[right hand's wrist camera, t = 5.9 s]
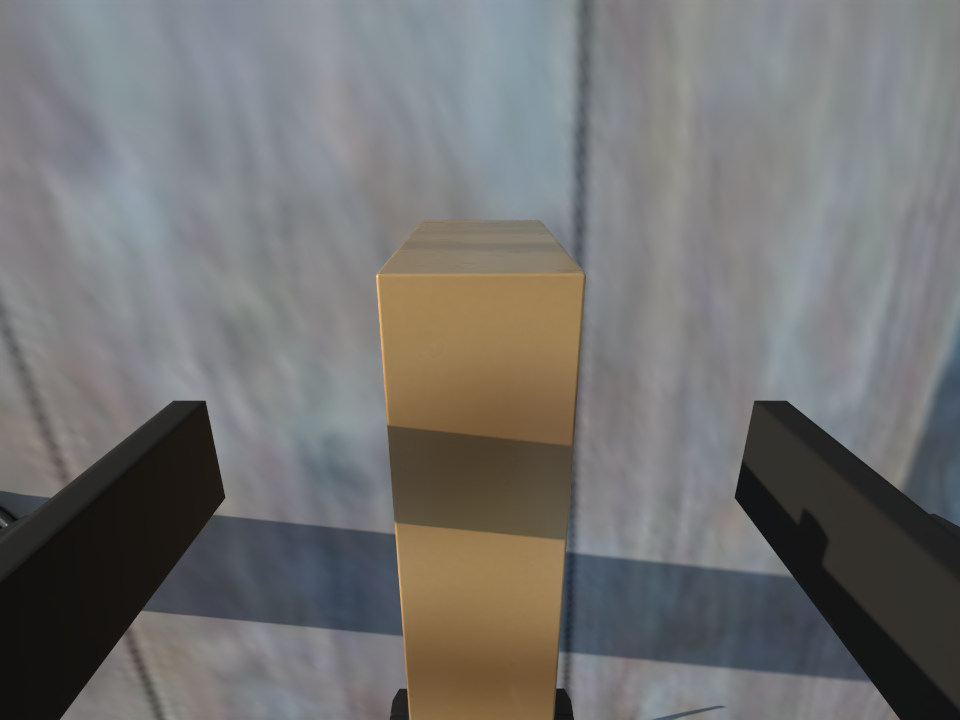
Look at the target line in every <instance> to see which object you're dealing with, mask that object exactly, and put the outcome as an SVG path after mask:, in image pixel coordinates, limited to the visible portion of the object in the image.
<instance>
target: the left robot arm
mask: <svg viewBox="0 0 960 720" xmlns="http://www.w3.org/2000/svg"><path fill="white" fill-rule="evenodd" d="M13 522H15V521H14V520H13V519H12V518H11V517H10V516H9V515H8V514H6V513H5V512H4V511H2V510H1V509H0V529H2V528H4V527H6V526H8V525H9V524H11V523H13ZM390 720H409V706H408V693H407V689H399V691H398V692H397V694H396V696H395V698H394V699H393V702H392V708H391V716H390ZM554 720H574V717H573V711H572V705H571V700H570V698H569V696H568V695H567V693H566V691H565V689H556V698H555V712H554Z"/></svg>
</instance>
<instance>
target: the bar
mask: <svg viewBox="0 0 960 720" xmlns="http://www.w3.org/2000/svg"><path fill="white" fill-rule="evenodd" d="M376 281H377V295H378V308H379V321H380V335H381V348H382V361H383V374H384V388H385V401H386V414H387V428H388V441H389V454H390V467H391V481H392V494H393V507H394V521H395V534H396V547H397V560H398V574H399V587H400V600H401V613H402V627H403V640H404V653H405V667H406V680H407V693H408V706H409V720H554V712H555V698H556V684H557V670H558V656H559V643H560V629H561V615H562V601H563V587H564V573H565V559H566V546H567V532H568V518H569V504H570V490H571V476H572V462H573V449H574V435H575V421H576V407H577V393H578V379H579V365H580V352H581V338H582V324H583V310H584V296H585V282H586V275H585V273H584V272H583V271H582V269H581V268H580V267H579V266H578V265H577V263H576V262H575V261H574V260H573V259H572V258H571V256H570V255H569V254H568V253H567V252H566V250H565V249H564V248H563V247H562V246H561V244H560V243H559V242H558V241H557V240H556V239H555V237H554V236H553V235H552V234H551V233H550V231H549V230H548V229H547V228H546V227H545V226H544V224H543V223H542V222H541V221H540V220H423V221H421V222H420V223H419V225H418V226H417V227H416V228H415V229H414V231H413V232H412V233H411V234H410V235H409V237H408V238H407V239H406V240H405V241H404V242H403V244H402V245H401V246H400V247H399V248H398V250H397V251H396V252H395V253H394V254H393V256H392V257H391V258H390V259H389V260H388V261H387V263H386V264H385V265H384V266H383V267H382V269H381V270H380V271H379V272H378V273H377V275H376Z"/></svg>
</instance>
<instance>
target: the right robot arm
mask: <svg viewBox="0 0 960 720" xmlns="http://www.w3.org/2000/svg"><path fill="white" fill-rule="evenodd" d="M224 499H225V493H224V489H223V484H222V479H221V474H220V469H219V464H218V459H217V454H216V450H215V445H214V440H213V435H212V430H211V425H210V420H209V415H208V411H207V406H206V401H173V402H171V403H170V404H169V405H168V406H166V407H165V408H164V409H162V410H161V411H160V412H159V413H157V414H156V415H155V416H154V417H152V418H151V419H150V420H149V421H147V422H146V423H145V424H144V425H142V426H141V427H140V428H139V429H137V430H136V431H135V432H134V433H132V434H131V435H130V436H129V437H127V438H126V439H125V440H124V441H122V442H121V443H120V444H119V445H117V446H116V447H115V448H114V449H112V450H111V451H110V452H109V453H107V454H106V455H105V456H104V457H102V458H101V459H100V460H99V461H97V462H96V463H95V464H93V465H92V466H91V467H90V468H88V469H87V470H86V471H85V472H83V473H82V474H81V475H80V476H78V477H77V478H76V479H75V480H73V481H72V482H71V483H70V484H68V485H67V486H66V487H65V488H63V489H62V490H61V491H60V492H58V493H57V494H56V495H55V496H53V497H52V498H51V499H50V500H48V501H47V502H46V503H45V504H43V505H42V506H41V507H40V508H38V509H37V510H36V511H35V512H33V513H32V514H31V515H30V516H25V517H23V518H21V519H19V520H17V521H15V522H13V523H11V524H9V525H8V526H6V527H4V528H2V529H0V720H60V719H61V717H62V716H63V715H64V713H65V712H66V711H67V709H68V708H69V707H70V705H71V704H72V703H73V701H74V700H75V699H76V697H77V696H78V694H79V693H80V692H81V690H82V689H83V688H84V686H85V685H86V684H87V682H88V681H89V680H90V678H91V677H92V676H93V674H94V673H95V672H96V670H97V669H98V668H99V666H100V665H101V664H102V662H103V661H104V660H105V658H106V657H107V656H108V654H109V653H110V652H111V650H112V649H113V648H114V646H115V645H116V644H117V642H118V641H119V640H120V638H121V637H122V636H123V634H124V633H125V632H126V630H127V629H128V627H129V626H130V625H131V623H132V622H133V621H134V619H135V618H136V617H137V615H138V614H139V613H140V611H141V610H142V609H143V607H144V606H145V605H146V603H147V602H148V601H149V599H150V598H151V597H152V595H153V594H154V593H155V591H156V590H157V589H158V587H159V586H160V585H161V583H162V582H163V581H164V579H165V578H166V577H167V575H168V574H169V573H170V571H171V570H172V569H173V567H174V566H175V564H176V563H177V562H178V560H179V559H180V558H181V556H182V555H183V554H184V552H185V551H186V550H187V548H188V547H189V546H190V544H191V543H192V542H193V540H194V539H195V538H196V536H197V535H198V534H199V532H200V531H201V530H202V528H203V527H204V526H205V524H206V523H207V522H208V520H209V519H210V518H211V516H212V515H213V514H214V512H215V511H216V510H217V508H218V507H219V506H220V504H221V503H222V502H223V500H224ZM735 499H736V500H737V502H738V503H739V504H740V506H741V507H742V508H743V510H744V511H745V512H746V514H747V515H748V516H749V518H750V519H751V520H752V522H753V523H754V524H755V526H756V527H757V528H758V530H759V531H760V532H761V534H762V535H763V536H764V538H765V539H766V540H767V542H768V543H769V544H770V546H771V547H772V548H773V550H774V551H775V552H776V554H777V555H778V556H779V558H780V559H781V560H782V562H783V563H784V564H785V566H786V567H787V569H788V570H789V571H790V573H791V574H792V575H793V577H794V578H795V579H796V581H797V582H798V583H799V585H800V586H801V587H802V589H803V590H804V591H805V593H806V594H807V595H808V597H809V598H810V599H811V601H812V602H813V603H814V605H815V606H816V607H817V609H818V610H819V611H820V613H821V614H822V615H823V617H824V618H825V619H826V621H827V622H828V623H829V625H830V626H831V627H832V629H833V630H834V632H835V633H836V634H837V636H838V637H839V638H840V640H841V641H842V642H843V644H844V645H845V646H846V648H847V649H848V650H849V652H850V653H851V654H852V656H853V657H854V658H855V660H856V661H857V662H858V664H859V665H860V666H861V668H862V669H863V670H864V672H865V673H866V674H867V676H868V677H869V678H870V680H871V681H872V682H873V684H874V685H875V686H876V688H877V689H878V690H879V692H880V693H881V694H882V696H883V697H884V699H885V700H886V701H887V703H888V704H889V705H890V707H891V708H892V709H893V711H894V712H895V713H896V715H897V716H898V717H899V719H900V720H960V527H959V526H957V525H955V524H953V523H951V522H949V521H947V520H945V519H943V518H942V517H940V516H938V515H936V514H928V513H927V512H925V511H924V510H923V509H922V508H920V507H919V506H918V505H917V504H915V503H914V502H913V501H912V500H910V499H909V498H908V497H907V496H905V495H904V494H903V493H902V492H900V491H899V490H898V489H897V488H895V487H894V486H893V485H892V484H890V483H889V482H888V481H887V480H885V479H884V478H883V477H882V476H880V475H879V474H878V473H877V472H875V471H874V470H873V469H872V468H870V467H869V466H868V465H867V464H865V463H864V462H863V461H861V460H860V459H859V458H858V457H856V456H855V455H854V454H853V453H851V452H850V451H849V450H848V449H846V448H845V447H844V446H843V445H841V444H840V443H839V442H838V441H836V440H835V439H834V438H833V437H831V436H830V435H829V434H828V433H826V432H825V431H824V430H823V429H821V428H820V427H819V426H818V425H816V424H815V423H814V422H813V421H811V420H810V419H809V418H808V417H806V416H805V415H804V414H803V413H801V412H800V411H799V410H798V409H796V408H795V407H794V406H792V405H791V404H790V403H789V402H787V401H754V406H753V411H752V415H751V420H750V425H749V430H748V435H747V440H746V445H745V450H744V454H743V459H742V464H741V469H740V474H739V479H738V484H737V489H736V493H735Z"/></svg>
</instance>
